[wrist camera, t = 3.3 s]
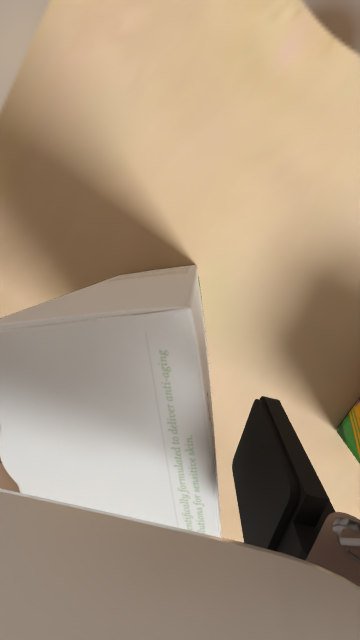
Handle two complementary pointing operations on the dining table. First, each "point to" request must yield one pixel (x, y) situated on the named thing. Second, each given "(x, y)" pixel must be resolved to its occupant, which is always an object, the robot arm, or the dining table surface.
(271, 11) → the dining table surface
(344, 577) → the robot arm
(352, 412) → the chalk box
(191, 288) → the skincare box
